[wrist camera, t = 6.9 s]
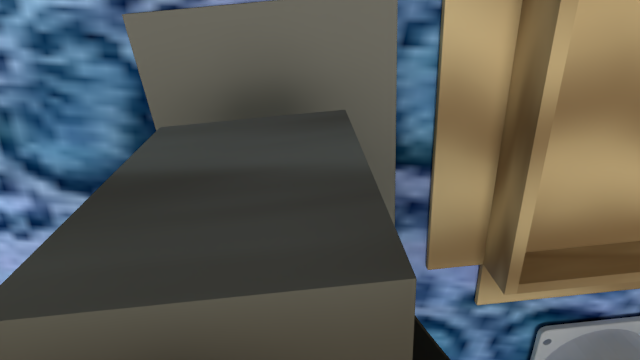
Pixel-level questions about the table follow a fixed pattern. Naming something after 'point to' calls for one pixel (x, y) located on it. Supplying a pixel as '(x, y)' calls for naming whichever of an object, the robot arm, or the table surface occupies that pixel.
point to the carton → (538, 147)
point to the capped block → (222, 254)
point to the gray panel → (276, 67)
